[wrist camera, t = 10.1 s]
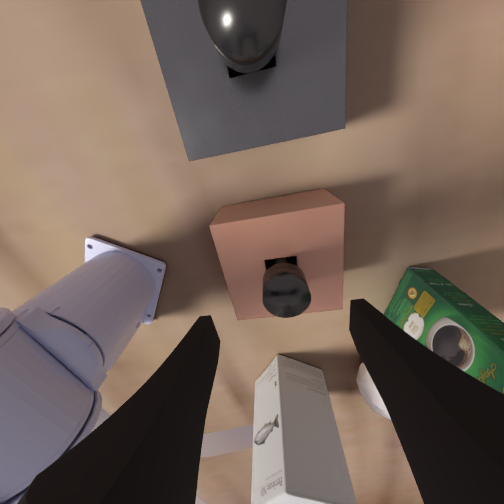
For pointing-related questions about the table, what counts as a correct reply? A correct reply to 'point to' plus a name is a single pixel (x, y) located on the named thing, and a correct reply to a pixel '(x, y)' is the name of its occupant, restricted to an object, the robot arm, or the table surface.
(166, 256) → the table surface
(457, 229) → the table surface
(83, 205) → the table surface
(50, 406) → the robot arm
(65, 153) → the table surface
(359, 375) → the ornament
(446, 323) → the coffee box
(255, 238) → the pot
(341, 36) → the pot
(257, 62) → the plunger
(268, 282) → the plunger
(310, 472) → the supplement box
